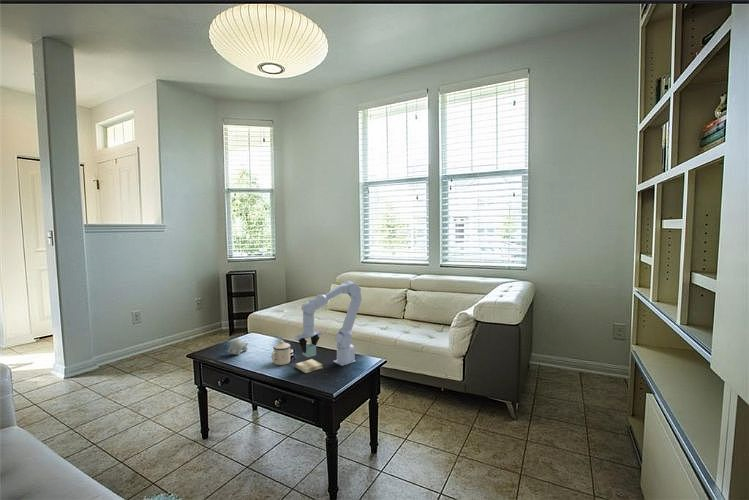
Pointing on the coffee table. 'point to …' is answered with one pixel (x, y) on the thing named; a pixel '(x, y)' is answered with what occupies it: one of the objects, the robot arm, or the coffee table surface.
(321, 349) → the coffee table surface
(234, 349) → the chubby cartoon animal
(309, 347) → the teal cube
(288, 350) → the teacup with lid
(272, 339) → the coffee table surface
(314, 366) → the maple base
